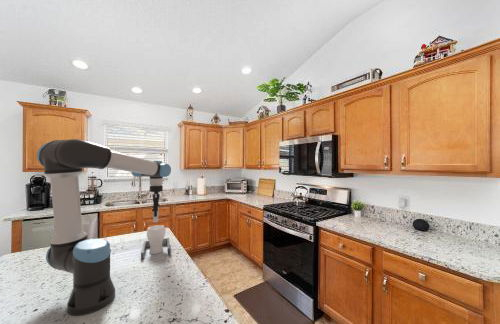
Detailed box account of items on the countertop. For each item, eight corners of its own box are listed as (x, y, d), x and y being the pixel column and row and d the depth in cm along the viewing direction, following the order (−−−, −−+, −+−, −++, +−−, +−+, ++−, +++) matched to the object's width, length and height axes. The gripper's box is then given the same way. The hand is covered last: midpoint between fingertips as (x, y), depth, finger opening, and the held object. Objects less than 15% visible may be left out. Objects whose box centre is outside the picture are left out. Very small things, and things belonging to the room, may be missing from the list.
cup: (168, 248, 133) (168, 225, 133) (159, 255, 123) (159, 230, 123) (153, 247, 134) (153, 224, 134) (143, 254, 124) (143, 229, 124)
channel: (169, 255, 123) (169, 248, 123) (140, 259, 117) (140, 252, 117) (169, 243, 141) (169, 237, 141) (144, 247, 135) (144, 241, 135)
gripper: (162, 186, 119) (162, 223, 118) (162, 183, 142) (162, 214, 141) (148, 187, 116) (147, 225, 115) (150, 183, 139) (150, 215, 138)
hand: (156, 219), depth 128 cm, fingers open, 13 cm apart
